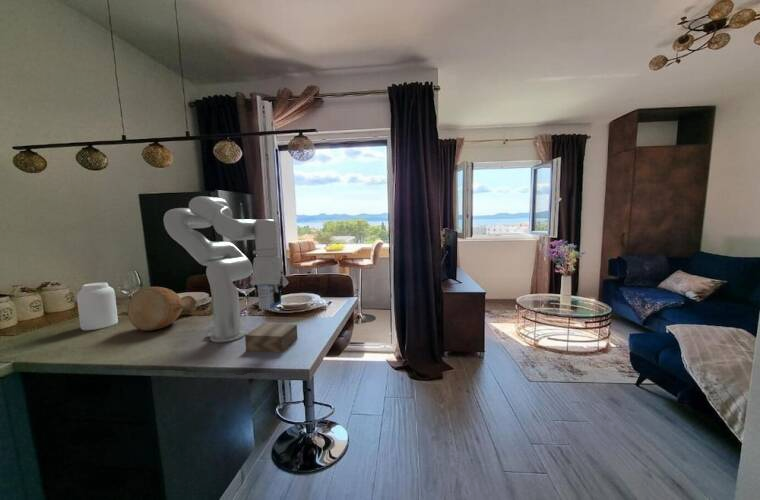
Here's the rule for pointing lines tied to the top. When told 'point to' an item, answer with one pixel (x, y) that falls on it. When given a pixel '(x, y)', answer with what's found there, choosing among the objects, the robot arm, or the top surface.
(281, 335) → the walnut block
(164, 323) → the jug
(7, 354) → the top surface
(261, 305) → the medicine box
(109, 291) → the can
